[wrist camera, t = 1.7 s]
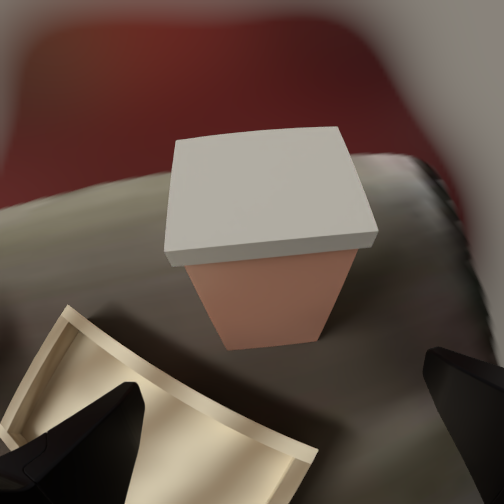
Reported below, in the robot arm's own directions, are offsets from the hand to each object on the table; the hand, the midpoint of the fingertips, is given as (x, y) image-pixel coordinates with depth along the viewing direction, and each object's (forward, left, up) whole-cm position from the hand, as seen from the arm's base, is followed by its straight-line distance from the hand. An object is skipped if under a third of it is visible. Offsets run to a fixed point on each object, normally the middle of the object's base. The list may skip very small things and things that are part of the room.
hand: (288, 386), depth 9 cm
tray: (+7, +8, -13) cm, 17 cm away
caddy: (+4, -6, -13) cm, 15 cm away
